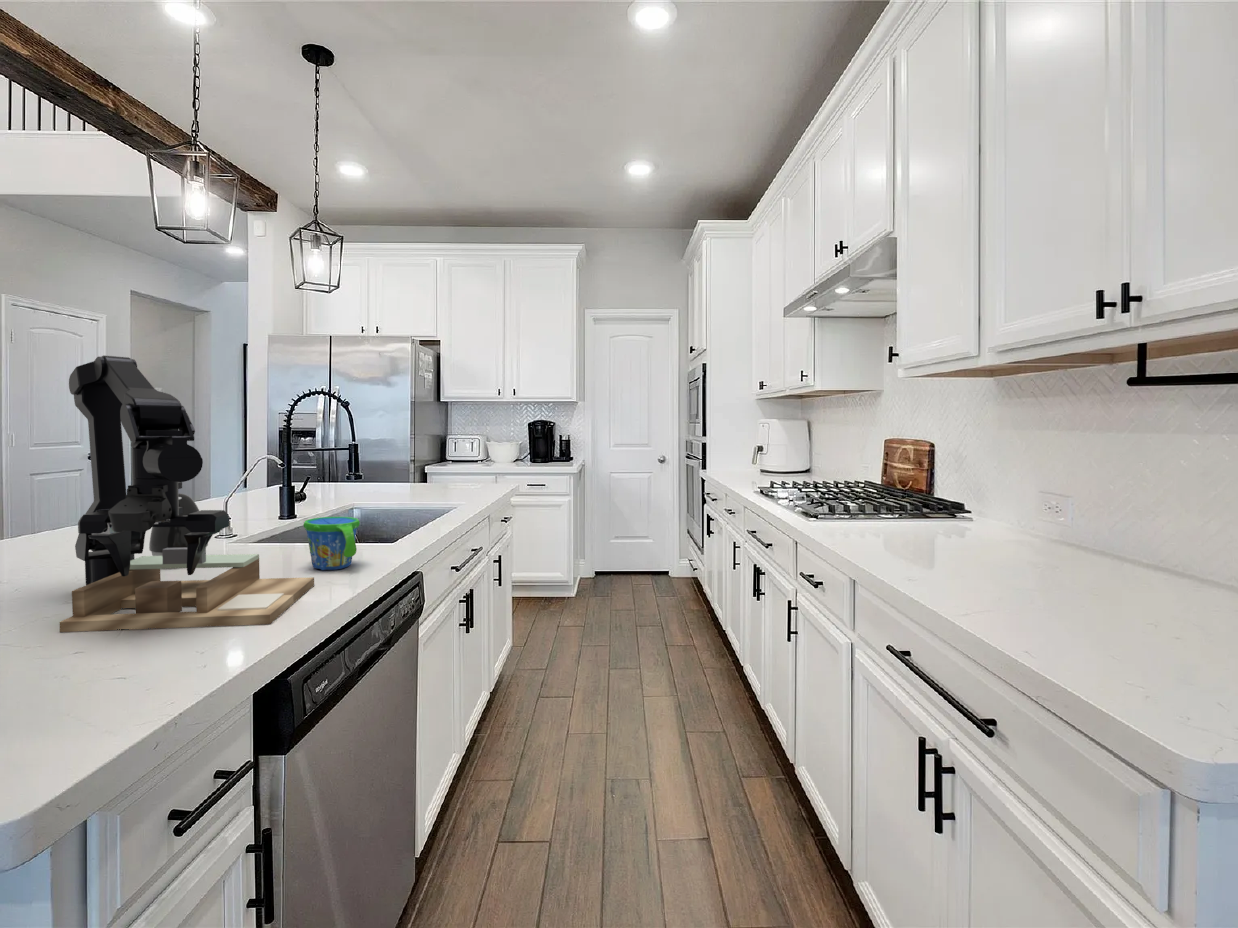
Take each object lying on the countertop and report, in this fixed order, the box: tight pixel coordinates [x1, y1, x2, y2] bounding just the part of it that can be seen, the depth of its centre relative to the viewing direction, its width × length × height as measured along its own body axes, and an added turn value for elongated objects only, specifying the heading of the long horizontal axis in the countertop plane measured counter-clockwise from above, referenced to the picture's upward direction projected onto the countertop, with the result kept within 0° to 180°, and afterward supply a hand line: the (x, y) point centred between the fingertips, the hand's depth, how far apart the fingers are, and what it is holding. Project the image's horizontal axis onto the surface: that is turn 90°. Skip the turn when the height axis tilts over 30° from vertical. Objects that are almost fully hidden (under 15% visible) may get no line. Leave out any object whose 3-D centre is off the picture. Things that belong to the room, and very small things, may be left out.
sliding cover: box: [129, 547, 260, 570], centre depth 108 cm, size 19×7×3 cm, turn 101°
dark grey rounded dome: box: [148, 492, 209, 556], centre depth 131 cm, size 10×10×15 cm
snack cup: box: [303, 516, 360, 571], centre depth 131 cm, size 16×10×10 cm
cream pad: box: [218, 593, 284, 611], centre depth 100 cm, size 7×8×1 cm
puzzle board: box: [59, 558, 315, 633], centre depth 103 cm, size 28×23×6 cm
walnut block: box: [135, 580, 183, 614], centre depth 98 cm, size 4×4×5 cm
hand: (158, 575), depth 97 cm, fingers open, 9 cm apart
